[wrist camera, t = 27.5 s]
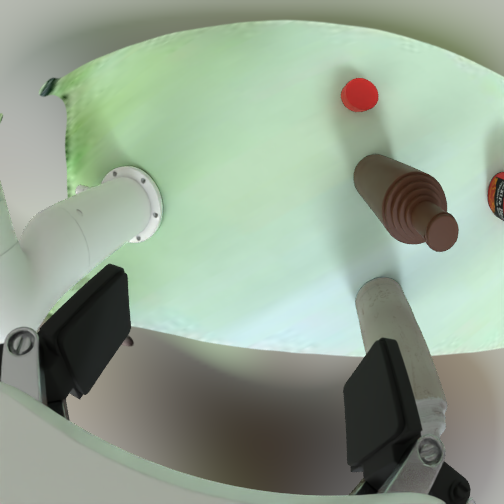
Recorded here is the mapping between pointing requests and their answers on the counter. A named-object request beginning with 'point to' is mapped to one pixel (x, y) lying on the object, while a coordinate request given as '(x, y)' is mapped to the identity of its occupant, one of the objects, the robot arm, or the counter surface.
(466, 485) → the robot arm
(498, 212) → the canned food
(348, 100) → the cap
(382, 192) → the bottle
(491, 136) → the counter surface
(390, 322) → the thermos bottle
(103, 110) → the counter surface
